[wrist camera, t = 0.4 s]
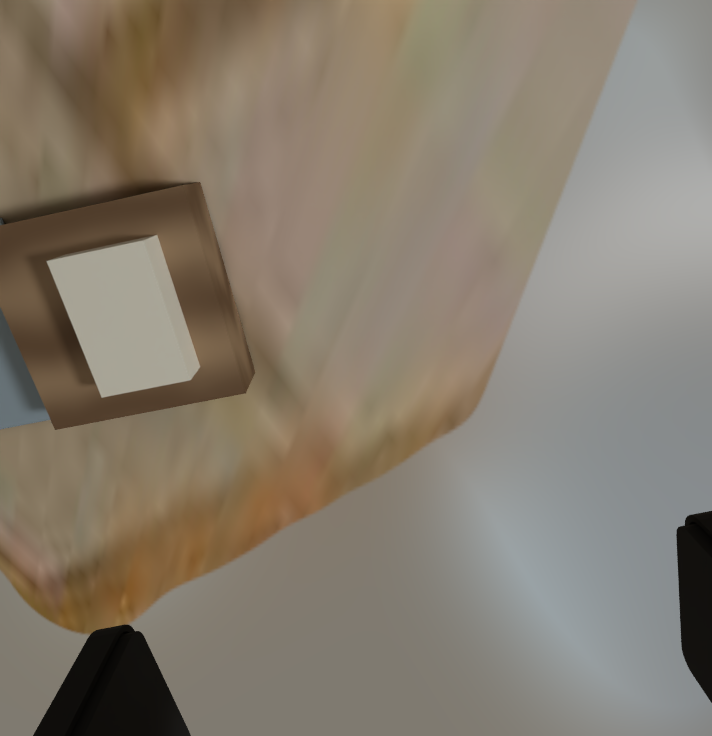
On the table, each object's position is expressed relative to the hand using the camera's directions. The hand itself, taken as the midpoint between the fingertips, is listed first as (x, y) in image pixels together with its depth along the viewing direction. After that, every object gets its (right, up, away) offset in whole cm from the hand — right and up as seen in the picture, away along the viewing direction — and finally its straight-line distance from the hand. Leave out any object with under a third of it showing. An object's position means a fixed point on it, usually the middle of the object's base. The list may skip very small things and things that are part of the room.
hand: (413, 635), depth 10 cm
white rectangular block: (-15, +8, +27) cm, 32 cm away
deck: (-17, +9, +31) cm, 36 cm away
